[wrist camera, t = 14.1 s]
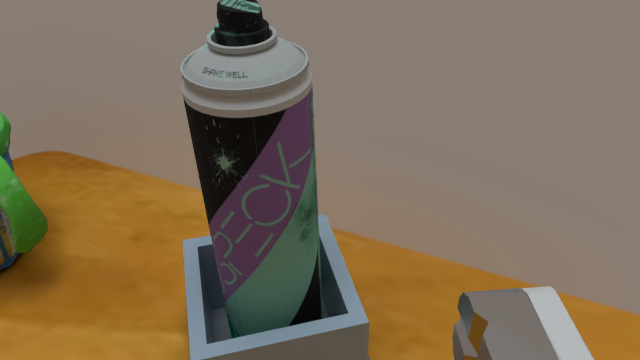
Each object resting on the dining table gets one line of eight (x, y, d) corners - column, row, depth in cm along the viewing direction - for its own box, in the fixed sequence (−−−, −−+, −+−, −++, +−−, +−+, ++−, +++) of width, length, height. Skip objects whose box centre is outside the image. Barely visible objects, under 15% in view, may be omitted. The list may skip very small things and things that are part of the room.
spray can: (223, 314, 34) (158, -8, 23) (306, 290, 36) (284, -25, 24) (244, 387, 30) (176, 37, 19) (337, 356, 32) (328, 13, 20)
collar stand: (197, 448, 28) (175, 378, 25) (187, 303, 36) (170, 234, 33) (383, 401, 30) (387, 330, 26) (335, 273, 38) (333, 205, 34)
